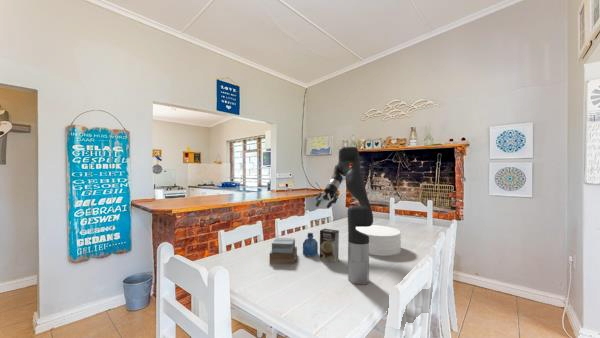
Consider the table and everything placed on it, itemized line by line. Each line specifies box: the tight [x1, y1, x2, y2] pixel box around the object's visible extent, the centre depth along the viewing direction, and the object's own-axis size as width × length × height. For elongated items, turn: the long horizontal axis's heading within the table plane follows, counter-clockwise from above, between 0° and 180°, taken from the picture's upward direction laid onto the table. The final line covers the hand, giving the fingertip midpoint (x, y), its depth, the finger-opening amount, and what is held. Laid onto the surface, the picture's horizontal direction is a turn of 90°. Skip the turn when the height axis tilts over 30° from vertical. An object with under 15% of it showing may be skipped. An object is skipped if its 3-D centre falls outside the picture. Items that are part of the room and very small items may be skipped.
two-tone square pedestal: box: [269, 237, 298, 265], centre depth 139 cm, size 13×13×10 cm
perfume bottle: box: [302, 232, 319, 257], centre depth 147 cm, size 6×6×12 cm
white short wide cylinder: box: [356, 224, 402, 257], centre depth 159 cm, size 28×28×12 cm
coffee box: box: [319, 228, 340, 263], centre depth 138 cm, size 9×6×16 cm
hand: (322, 206), depth 156 cm, fingers open, 8 cm apart
